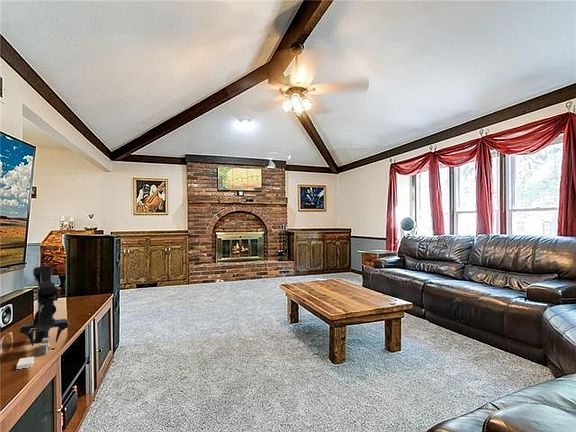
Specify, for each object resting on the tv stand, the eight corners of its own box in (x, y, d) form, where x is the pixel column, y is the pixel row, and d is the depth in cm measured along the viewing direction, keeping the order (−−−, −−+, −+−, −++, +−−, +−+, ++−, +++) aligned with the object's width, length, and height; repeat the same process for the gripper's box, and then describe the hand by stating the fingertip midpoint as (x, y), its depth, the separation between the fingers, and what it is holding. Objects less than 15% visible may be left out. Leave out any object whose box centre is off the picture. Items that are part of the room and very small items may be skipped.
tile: (19, 358, 141) (16, 365, 134) (34, 356, 144) (31, 363, 137) (19, 363, 141) (16, 371, 134) (34, 361, 144) (31, 368, 137)
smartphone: (46, 327, 188) (53, 319, 202) (46, 328, 188) (53, 321, 202) (61, 325, 191) (67, 318, 205) (61, 327, 191) (67, 320, 205)
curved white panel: (42, 346, 161) (43, 337, 161) (49, 345, 162) (49, 337, 162) (38, 356, 149) (38, 347, 149) (45, 355, 150) (45, 346, 150)
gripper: (18, 318, 146) (16, 353, 145) (67, 313, 155) (66, 346, 155) (23, 312, 155) (21, 345, 155) (69, 308, 165) (68, 338, 164)
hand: (44, 343), depth 157 cm, fingers open, 9 cm apart
